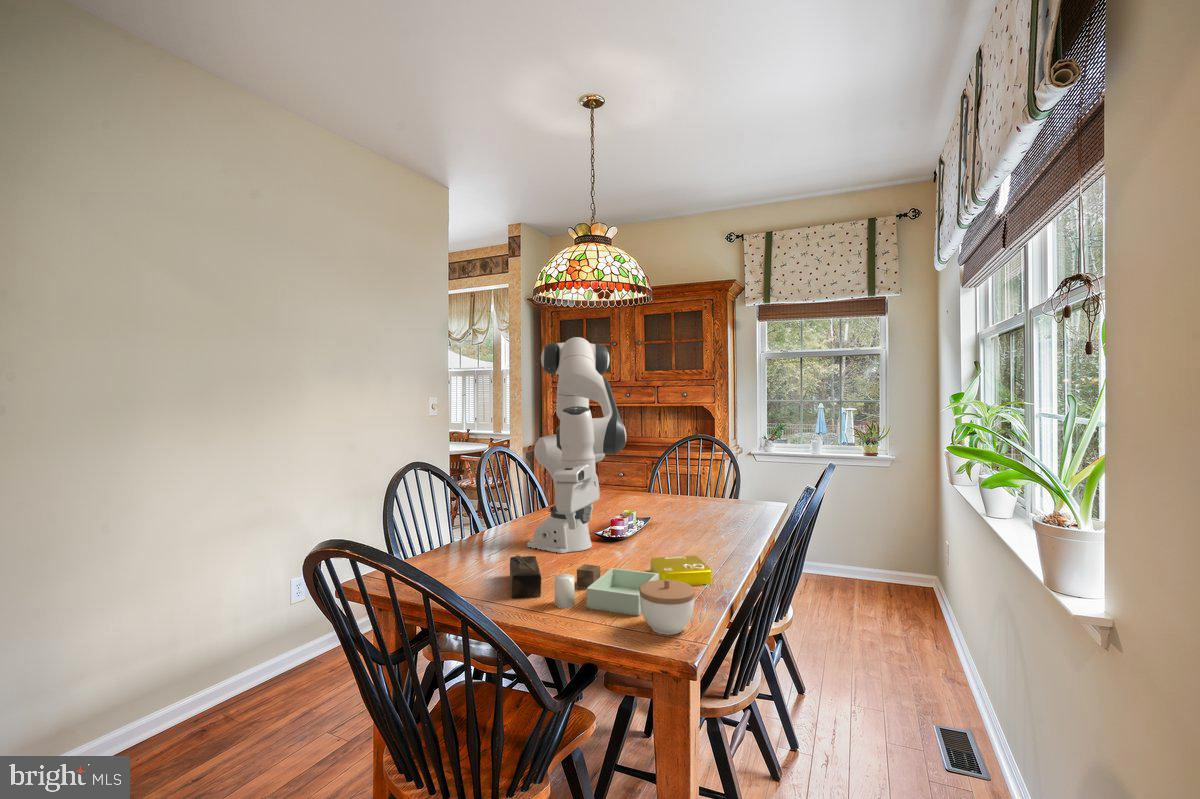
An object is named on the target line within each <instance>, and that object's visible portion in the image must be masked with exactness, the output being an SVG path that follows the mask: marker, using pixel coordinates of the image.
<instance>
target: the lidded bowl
mask: <svg viewBox="0 0 1200 799" xmlns="http://www.w3.org/2000/svg"><path fill="white" fill-rule="evenodd" d="M695 590H696V589H695V588H694V587H693V586H691V585H689V584H687V583H684V582H680V581H675V580H667V579H666V580H655V581H650V582H646V583H644V584H642V585H641V586H640V588H639V593H640V605H641V611H642V613H641V615H642V617H643V620H645V623H646V624H647V625H648V626H649V627H651V628H650V629H651V630H652V631H653V632H654V633H655V634H656V633H657V634H660V635H665V636H666V635H667V636H671V635H677V634H679V633H681V632H683V630H684V629H685V628H686V627H687V626H688V625H689V623H690V621H691V619H692V617H693V614H694V610H695V596H696V591H695Z"/></svg>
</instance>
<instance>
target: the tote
mask: <svg viewBox="0 0 1200 799" xmlns="http://www.w3.org/2000/svg"><path fill="white" fill-rule="evenodd" d="M655 580H659V574H658V573H651V571H641V570H640V571H639V570H634V569H633V570H632V569H626V568H625V569H624V568H616V567H611V568H610V569H608V570H607V571H606V572H605V573H604V574H602V575H600V578H599V579H597V580H596V581H595V582H594V583H593V584H591V585H590V586H589V587H588V588H586V609H588V608H589V610H595V609H596V611H603V612H608V611H609V613H615V614H616V613H617V614H622V615H629V616H635V617H639V616H640V615H642V611H641V605H640V593H639V588H640V586H641V585H642V584H644V583H646V582H650V581H655Z"/></svg>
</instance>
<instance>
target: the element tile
mask: <svg viewBox="0 0 1200 799" xmlns="http://www.w3.org/2000/svg"><path fill="white" fill-rule="evenodd" d="M650 573H658V574H659V580H666V579H667V580H675V581H680V582H684V583H687V584H689V585H695V586H704V585H703V584H709V585H712V584H711V583H713V569H712V568H711V567H710V566H709V565H708V564H706V562H705V561H703V560H702V559H701V558H700V557H699V556H697V555H686V556H685V555H684V556H683V555H681V556H680V555H679V556H666V557H665V556H664V557H663V556H662V557H652V558H651V559H650Z"/></svg>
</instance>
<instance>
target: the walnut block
mask: <svg viewBox="0 0 1200 799" xmlns="http://www.w3.org/2000/svg"><path fill="white" fill-rule="evenodd" d="M600 577H601V565H594V564H585V563H584V564H582V565H580V566H579V567H578V568H577V569H576V587H577V586H578V587H577V588H580V587H585V588H584V589H587V588H588V587H589V586H590V585H591V584H593V583H594V582H595V581H596V580H597V579H599V578H600Z"/></svg>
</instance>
